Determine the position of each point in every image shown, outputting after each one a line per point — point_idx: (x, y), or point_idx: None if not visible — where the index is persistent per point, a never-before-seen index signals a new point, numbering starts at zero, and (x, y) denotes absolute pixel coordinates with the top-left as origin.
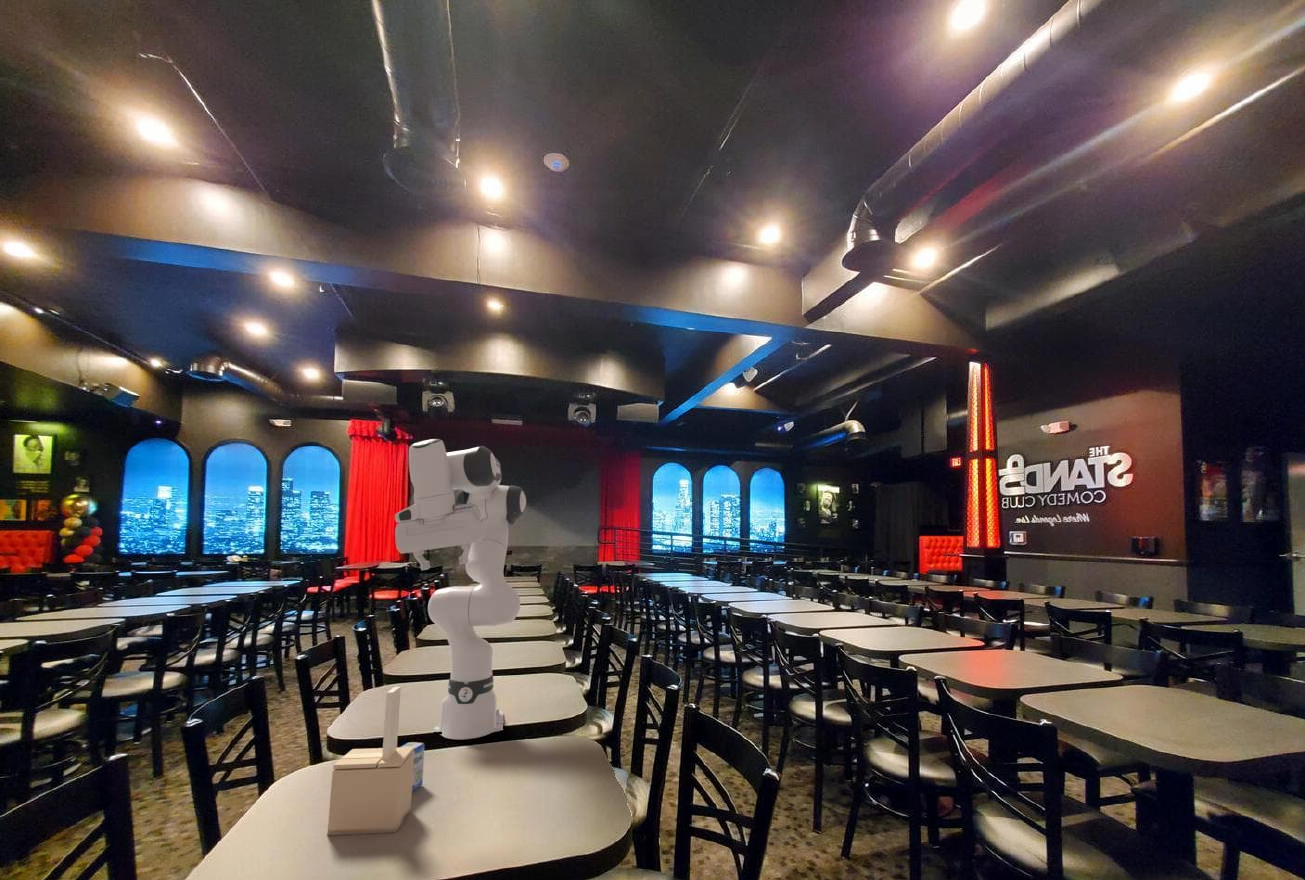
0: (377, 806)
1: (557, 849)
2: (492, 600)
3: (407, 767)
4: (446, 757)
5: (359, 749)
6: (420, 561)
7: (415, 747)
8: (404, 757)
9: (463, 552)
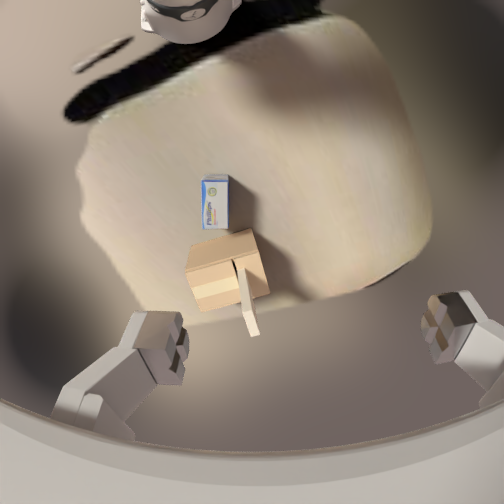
0: None
1: (396, 258)
2: None
3: None
4: (210, 95)
5: (194, 273)
6: (142, 392)
7: (226, 198)
8: (266, 281)
9: (476, 380)
